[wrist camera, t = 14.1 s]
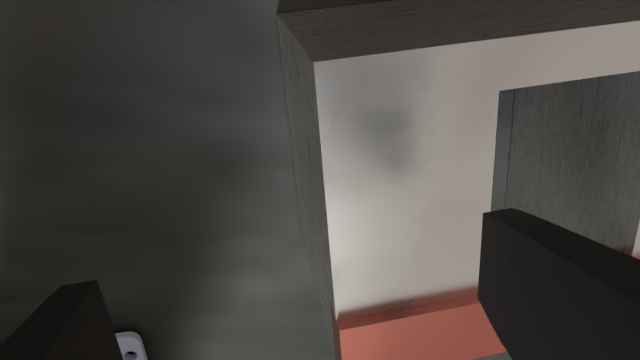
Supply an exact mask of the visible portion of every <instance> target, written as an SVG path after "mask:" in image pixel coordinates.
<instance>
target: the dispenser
mask: <svg viewBox="0 0 640 360" xmlns="http://www.w3.org/2000/svg"><path fill="white" fill-rule="evenodd" d="M276 16H277V25H278V34H279V42H280V51H281V60H282V69H283V77H284V86H285V95H286V103H287V112H288V121H289V130H290V138H291V147H292V156H293V165H294V173H295V182H296V191H297V199H298V208H299V217H300V226H301V234H302V243H303V247H304V251H305V254H306V257H307V261H308V264H309V268H310V271H311V275H312V278H313V281H314V285H315V288H316V292H317V295H318V299H319V302H320V305H321V309H322V312H323V316H324V319H325V322H326V326H327V329H328V333H329V336H330V340H331V343H332V346H333V350H334V353H335V357H336V360H468V359H473V358H478V357H482V356H487V355H492V354H497V353H501V352H506V351H507V350H506V349H505V348H504V346H503V345H502V343H501V342H500V340H499V338H498V336H497V334H496V332H495V331H494V329H493V327H492V325H491V323H490V321H489V319H488V317H487V315H486V313H485V311H484V309H483V307H482V305H481V304H480V302H479V300H478V298H477V297H478V282H479V266H480V251H481V235H482V220H483V213H485V212H490V211H491V197H492V183H493V169H494V155H495V141H496V128H497V114H498V100H499V91H501V90H508V89H515V88H516V90H515V101H514V113H513V125H512V136H511V148H510V159H509V171H508V182H507V194H506V206H505V209H509V208H515V209H518V210H521V211H524V212H526V213H529V214H532V215H534V216H537V217H539V218H542V219H544V220H547V221H549V222H551V223H554V224H556V225H559V226H561V227H563V228H565V229H568V230H570V231H572V232H575V233H577V234H579V235H582V236H584V237H587V238H589V239H591V240H594V241H596V242H598V243H601V244H603V245H605V246H608V247H610V248H613V249H615V250H617V251H620V252H622V253H625V254H627V255H630V256H632V257H635V258H637V259H640V0H393V1H384V2H375V3H367V4H358V5H349V6H340V7H332V8H323V9H314V10H305V11H297V12H288V13H279V14H276Z"/></svg>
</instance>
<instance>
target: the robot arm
mask: <svg viewBox="0 0 640 360" xmlns="http://www.w3.org/2000/svg"><path fill="white" fill-rule="evenodd" d="M477 298H478V300H479V302H480V304H481V305H482V307H483V309H484V311H485V313H486V315H487V317H488V319H489V321H490V323H491V325H492V327H493V329H494V331H495V332H496V334H497V336H498V338H499V340H500V342H501V343H502V345H503V346H504V348H505V349H506V350H507V352H508V353H509V355H510V356H511V358H512V359H513V360H640V259H637V258H635V257H632V256H630V255H627V254H625V253H622V252H620V251H617V250H615V249H613V248H610V247H608V246H605V245H603V244H601V243H598V242H596V241H594V240H591V239H589V238H587V237H584V236H582V235H579V234H577V233H575V232H572V231H570V230H568V229H565V228H563V227H561V226H559V225H556V224H554V223H551V222H549V221H547V220H544V219H542V218H539V217H537V216H534V215H532V214H529V213H526V212H524V211H521V210H518V209H515V208H509V209H503V210H497V211H491V212H485V213H483V220H482V235H481V251H480V266H479V282H478V297H477ZM129 351H133V352H135V354H128V353H127V352H129ZM0 360H148V358H147V355H146V352H145V349H144V345H143V342H142V339H141V337H140V335H138V334H137V333H135V332H131V331H128V332H121V333H115V332H114V329H113V326H112V323H111V320H110V317H109V314H108V311H107V308H106V305H105V302H104V299H103V296H102V293H101V290H100V287H99V284H98V281H97V280H93V281H87V282H81V283H75V284H70V285H64V286H60V287H59V288H58V289H57V290H56V291H55V292H54V293H53V294H52V295H51V296H50V297H49V298H47V299H46V300H45V301H44V302H43V303H42V304H41V305H40V306H39V308H38V309H37V310H36V311H35V312H34V313H33V314H32V315H31V316H30V317H29V318H28V319H27V320H26V321H25V322H24V323H23V324H22V325H21V326H20V327H19V328H18V329H17V330H16V331H15V332H14V333H13V334H12V335H11V336H10V337H9V338H8V339H7V340H6V341H5V342H4V343H3V344H2V345H1V346H0Z"/></svg>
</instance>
